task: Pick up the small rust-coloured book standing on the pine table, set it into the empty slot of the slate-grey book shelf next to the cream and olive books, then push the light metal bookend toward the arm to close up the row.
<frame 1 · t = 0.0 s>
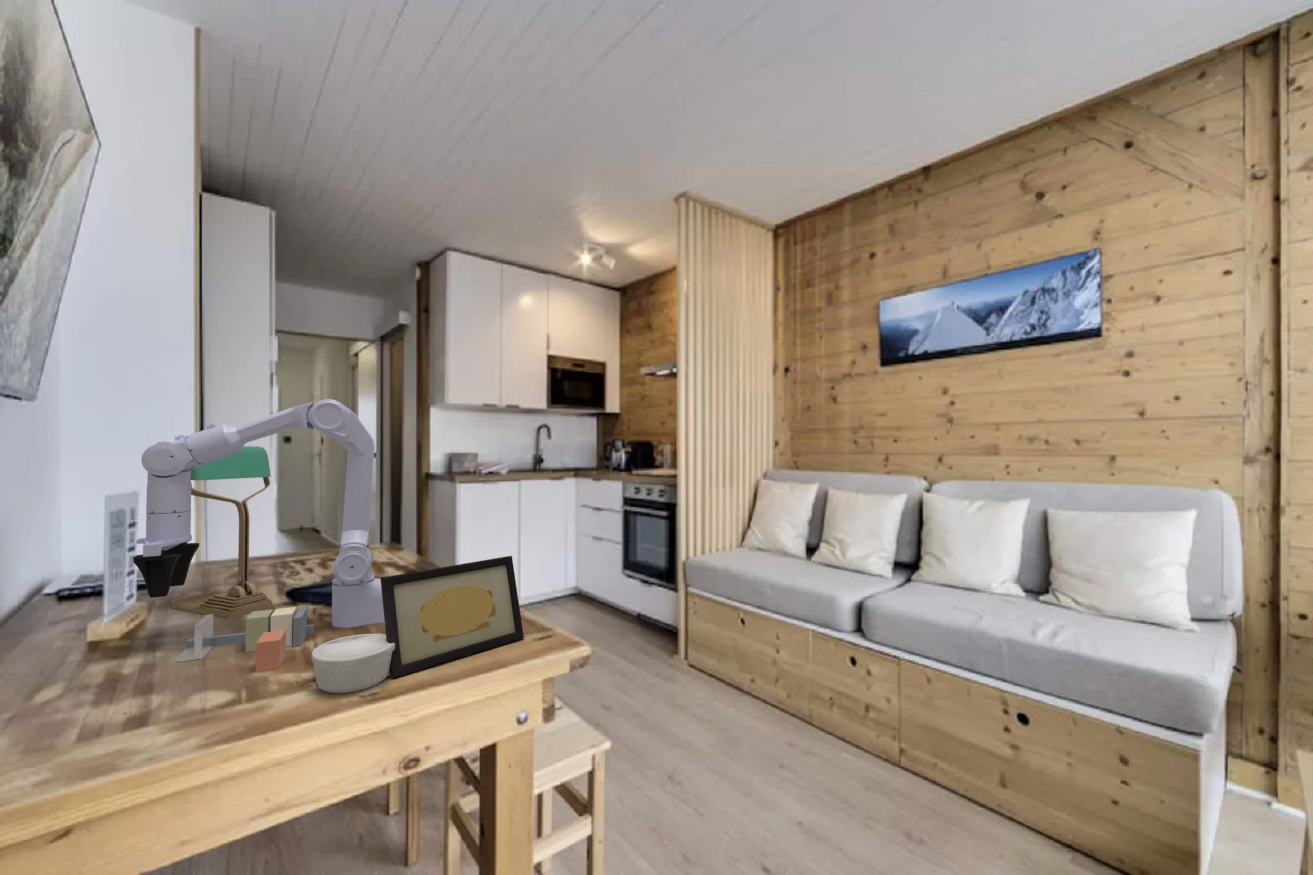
hand: (167, 591, 92), 10 cm above the table, fingers open, 7 cm apart
shelf: (247, 653, 90), on the table
banker's lamp: (219, 608, 116), on the table
rust book: (271, 671, 84), on the table
picture frame: (452, 652, 92), on the table
ramekin: (354, 681, 81), on the table
cream book: (283, 643, 93), point 1 cm above the table, touching shelf
olive book: (259, 646, 91), point 1 cm above the table, touching shelf
bookend: (195, 637, 87), point 4 cm above the table, slide at 0.0 cm
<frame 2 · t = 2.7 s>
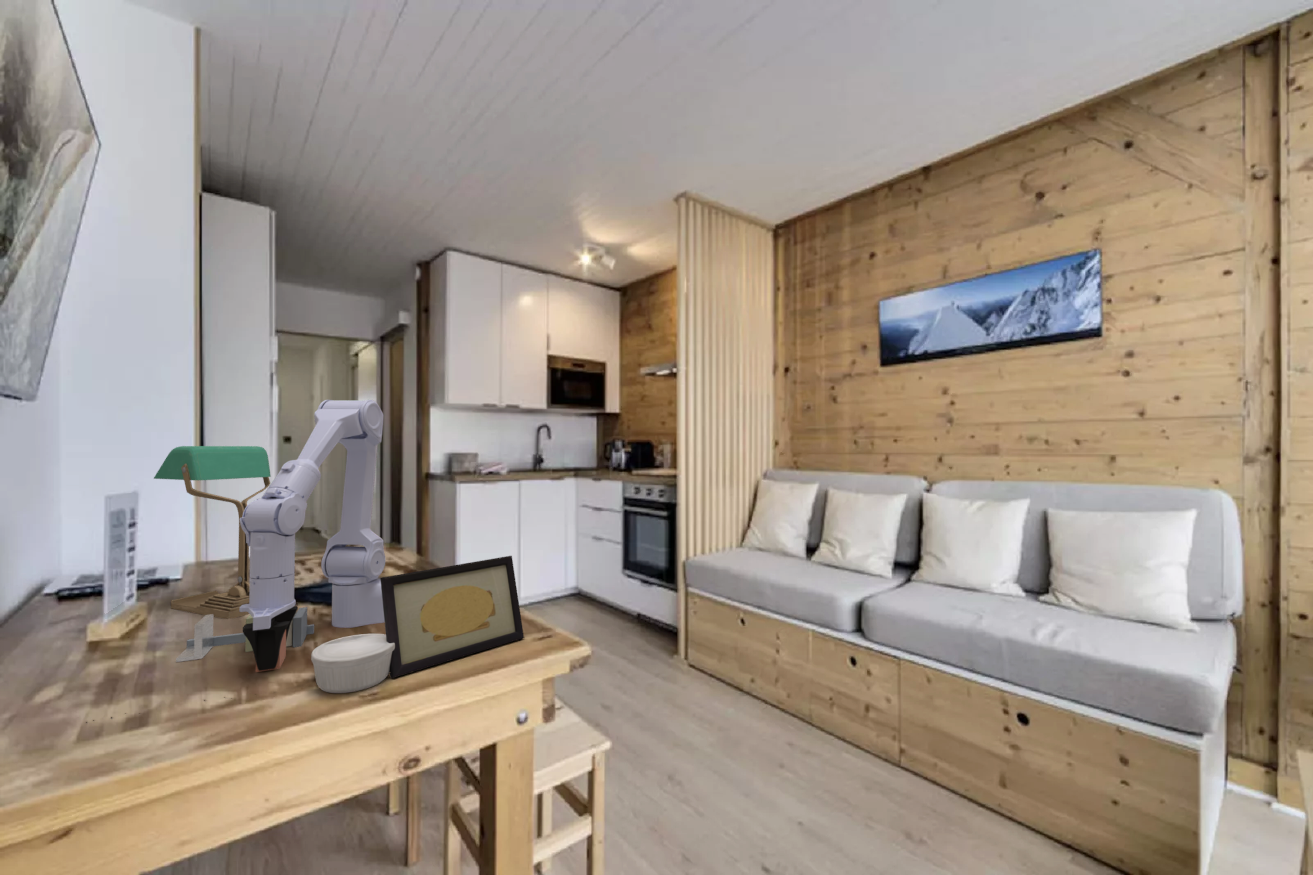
hand: (271, 662, 84), 1 cm above the table, fingers closed on rust book, 5 cm apart
rust book: (271, 671, 84), on the table, touching gripper
everything else where it was.
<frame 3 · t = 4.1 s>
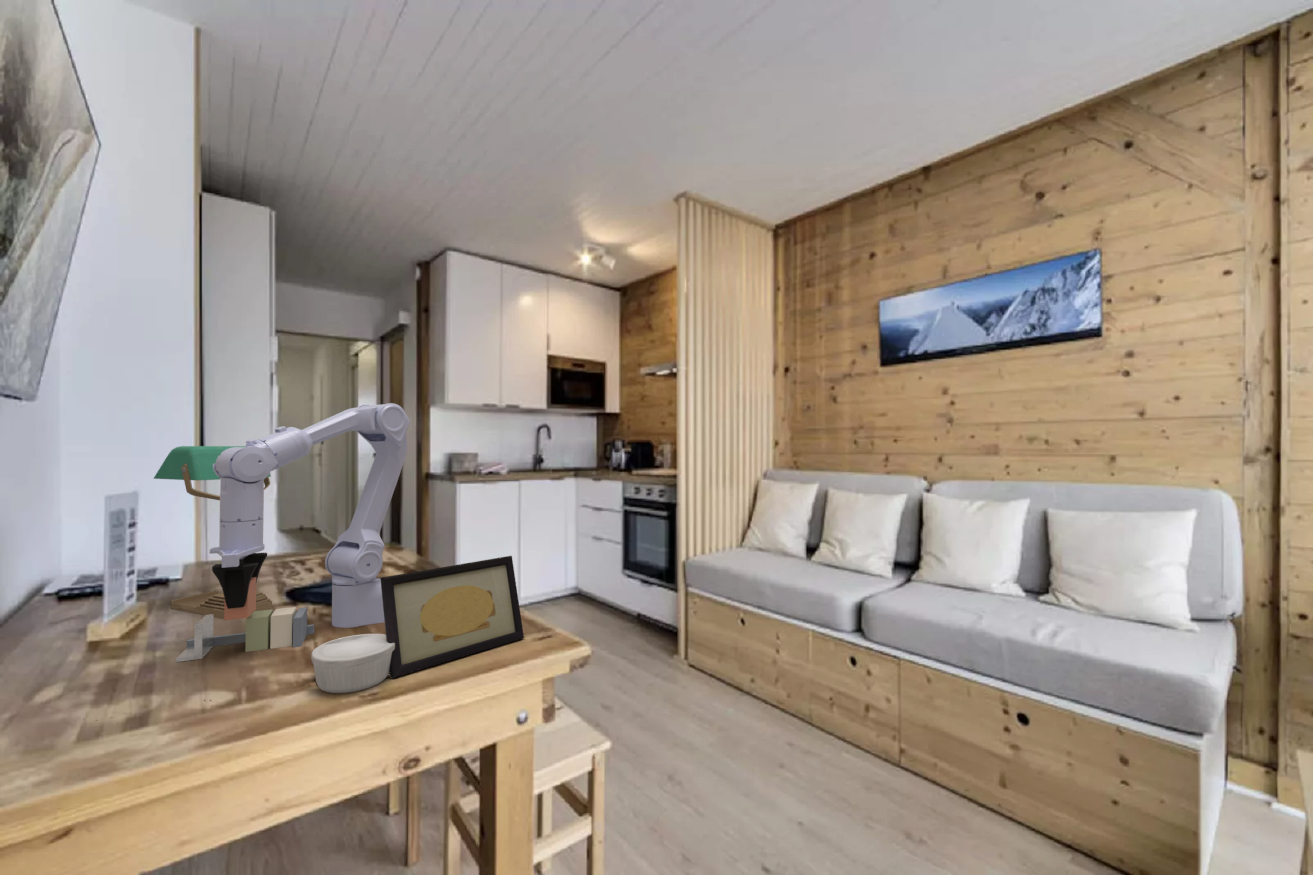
hand: (240, 602, 88), 9 cm above the table, fingers closed on rust book, 5 cm apart
rust book: (240, 614, 88), point 7 cm above the table, touching gripper
everything else where it was.
when the fingers open (4 cm above the table, at t = 5.8 s): rust book drops 1 cm, resting on shelf.
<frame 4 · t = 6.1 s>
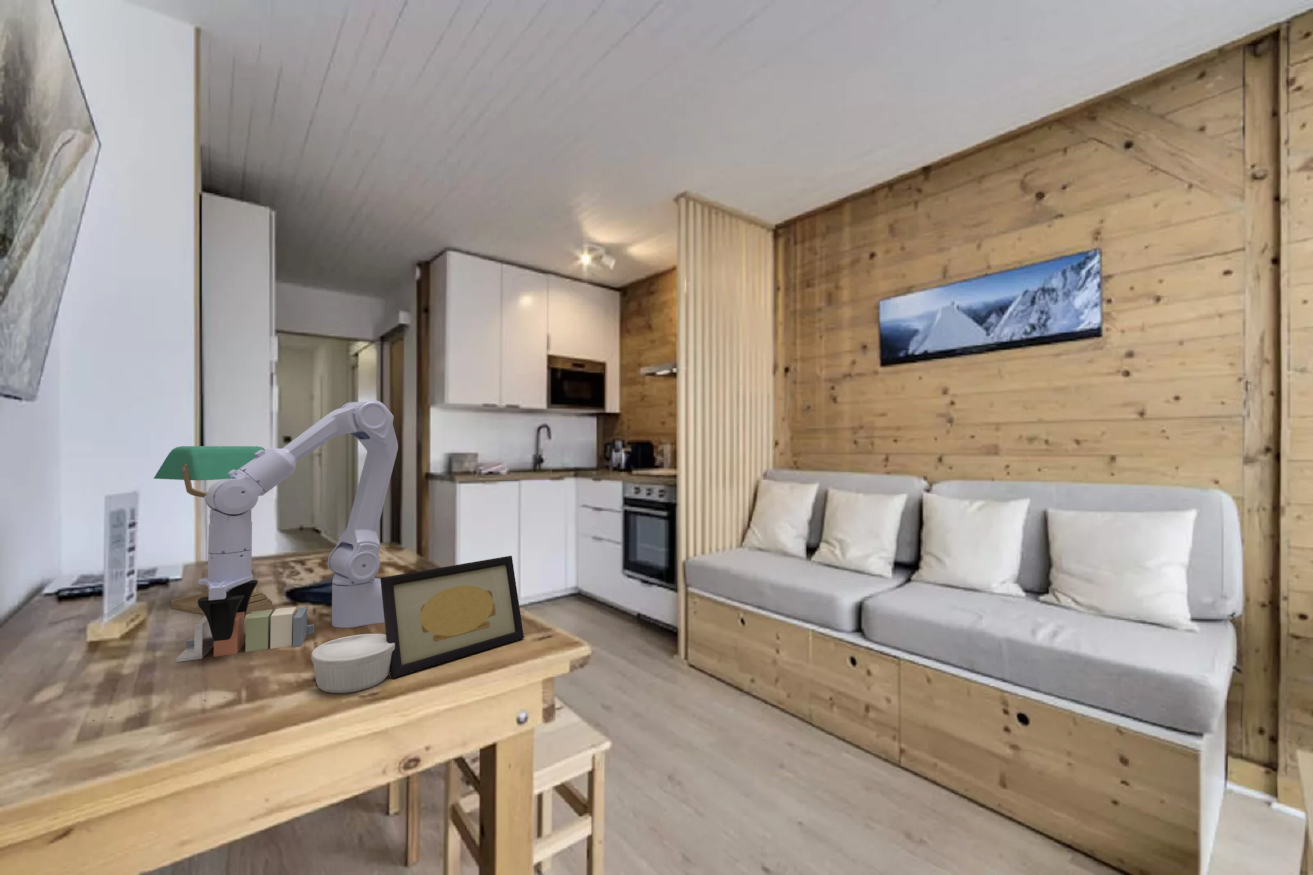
hand: (229, 632, 89), 4 cm above the table, fingers open, 7 cm apart
rust book: (229, 650, 89), point 1 cm above the table, touching shelf
everything else where it was.
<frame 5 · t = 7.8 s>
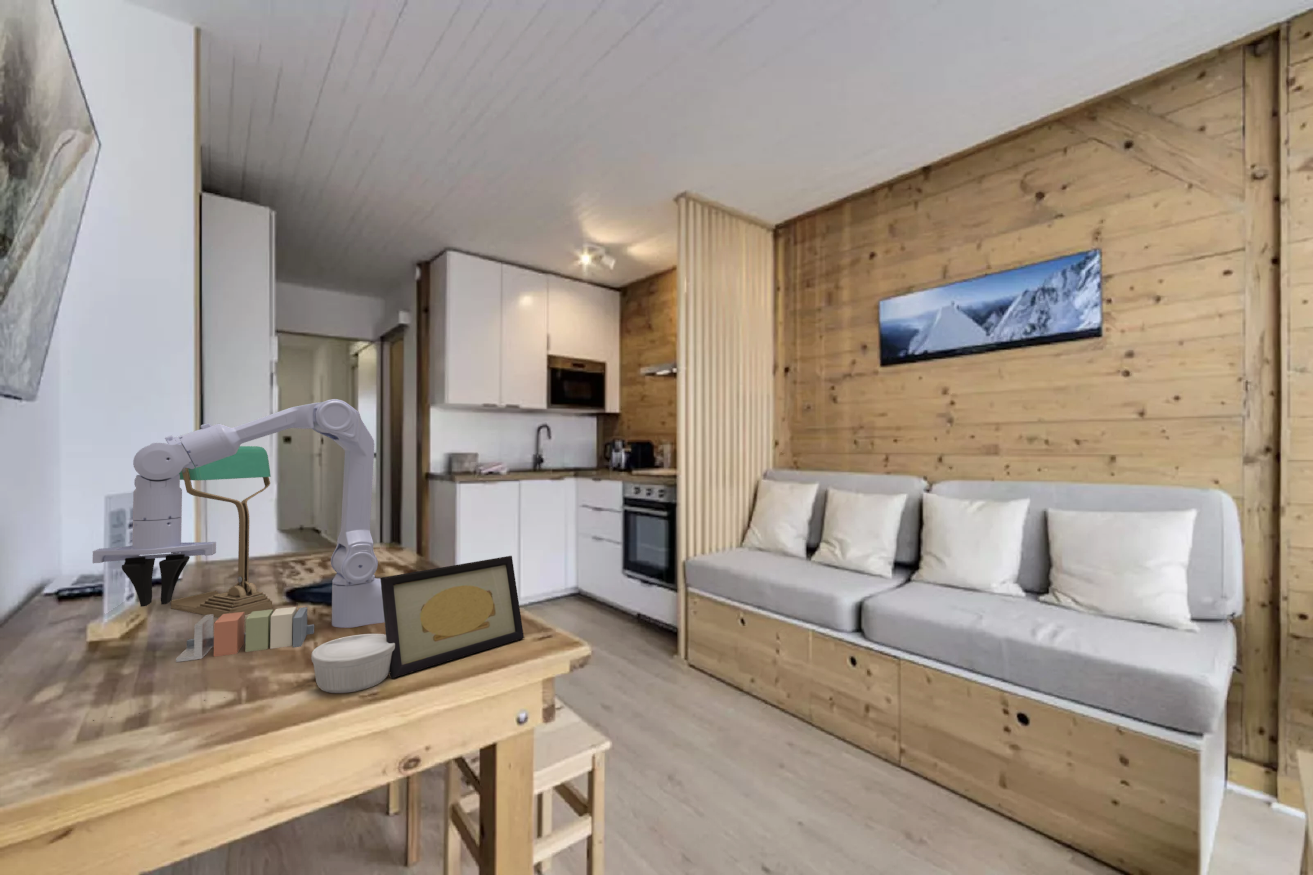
hand: (156, 603, 85), 10 cm above the table, fingers closed
nothing on the table moved.
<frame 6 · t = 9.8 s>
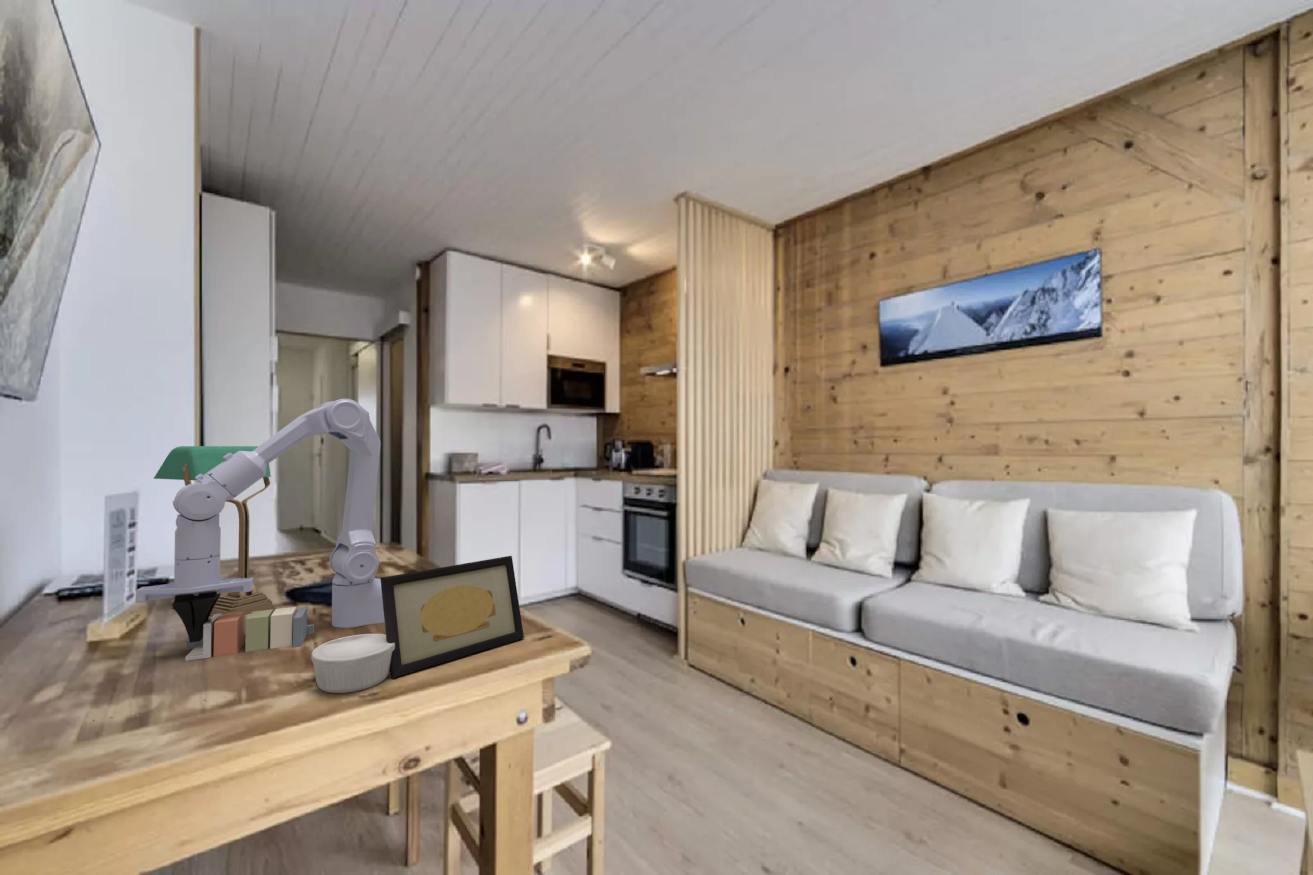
hand: (196, 640, 87), 3 cm above the table, fingers closed
bookend: (204, 636, 88), point 4 cm above the table, slide at 1.1 cm, touching gripper
everything else where it was.
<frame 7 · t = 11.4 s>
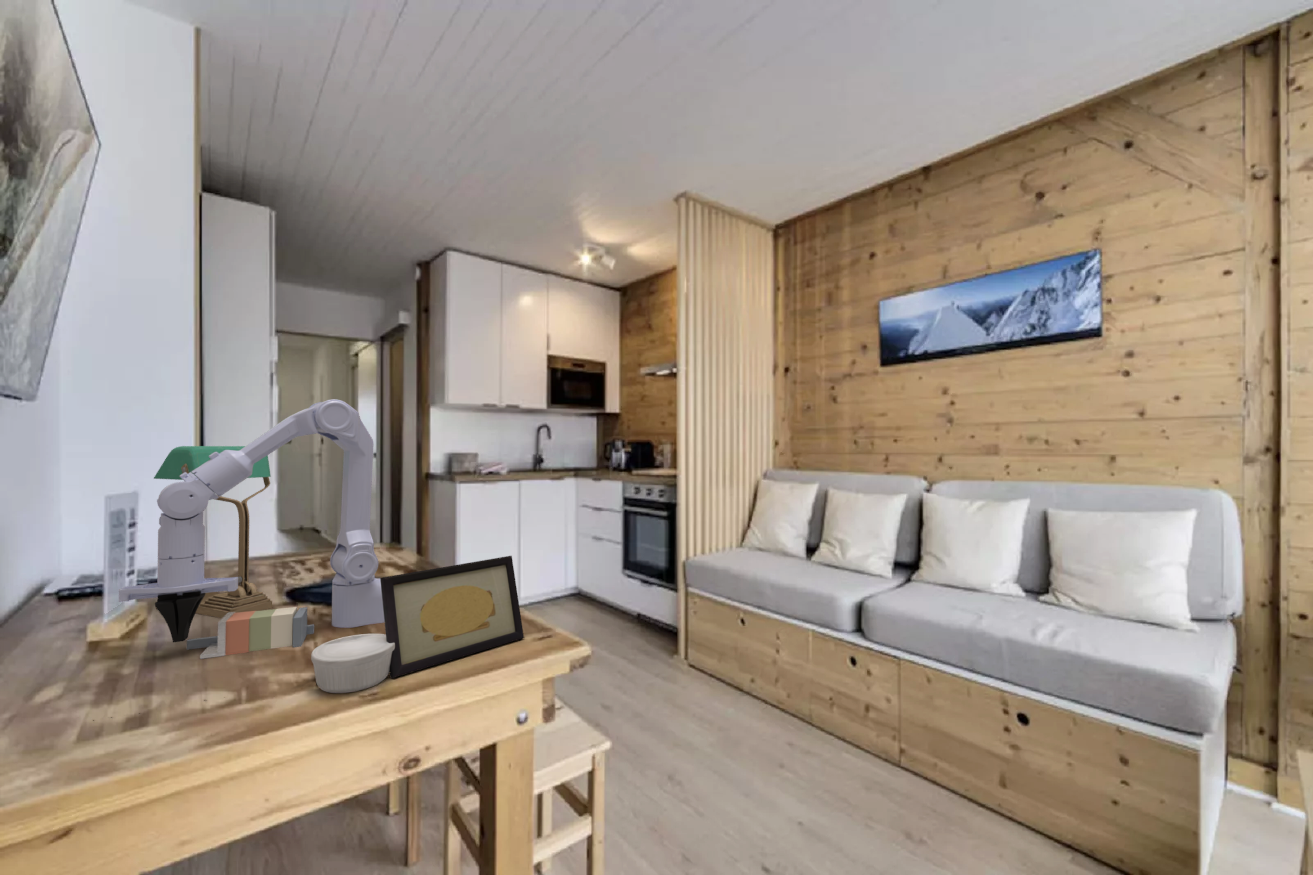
hand: (180, 639, 87), 4 cm above the table, fingers closed
rust book: (241, 648, 90), point 1 cm above the table, touching bookend, olive book, shelf
cream book: (284, 643, 93), point 1 cm above the table, touching olive book, shelf
olive book: (262, 646, 91), point 1 cm above the table, touching cream book, rust book, shelf
bookend: (218, 634, 89), point 4 cm above the table, slide at 3.0 cm, touching rust book
everything else where it was.
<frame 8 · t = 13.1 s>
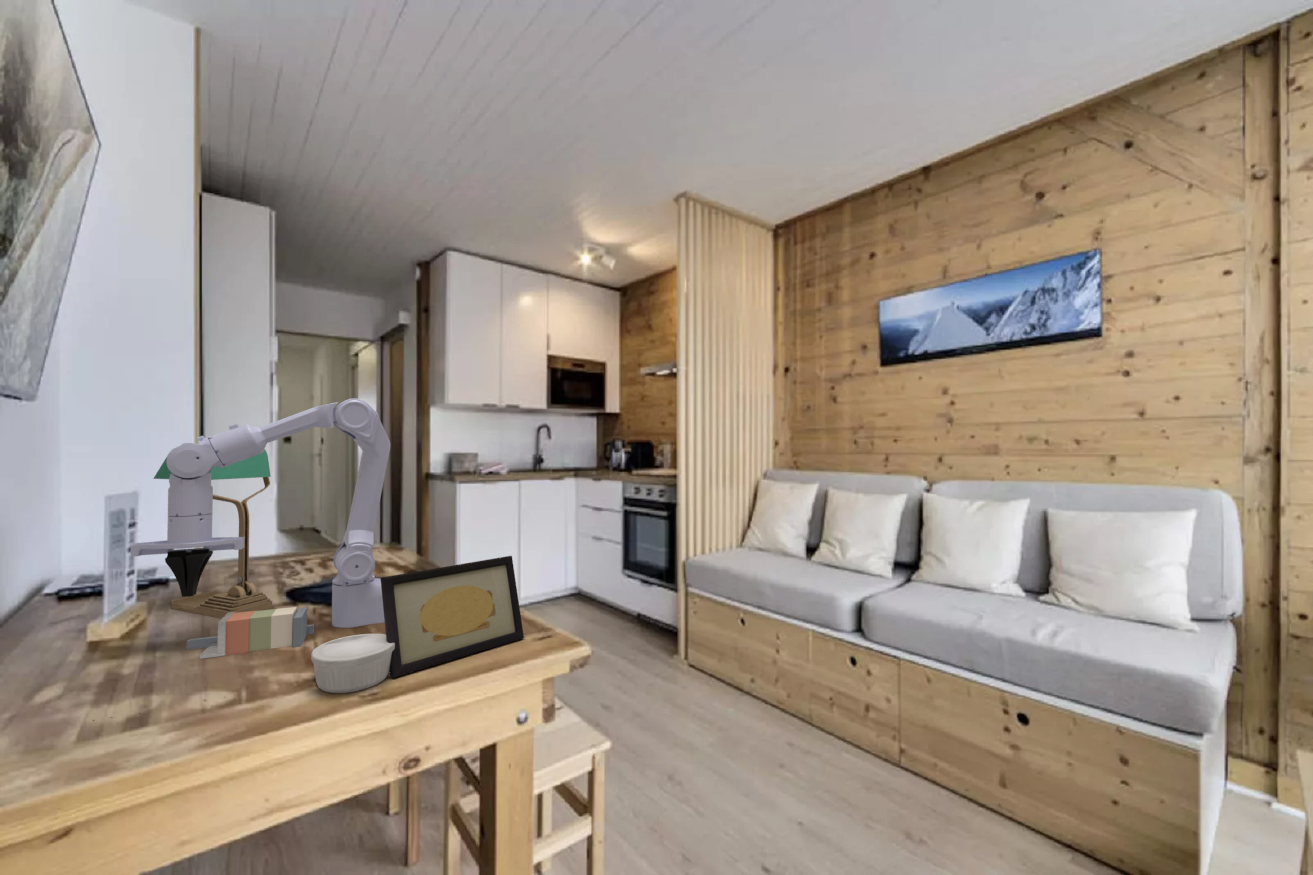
hand: (189, 595, 90), 10 cm above the table, fingers closed
nothing on the table moved.
at the end: rust book 1.1 cm from the target spot, point 1.0 cm above the table; rust book tilted 0°; bookend slide at 3.0 cm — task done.
